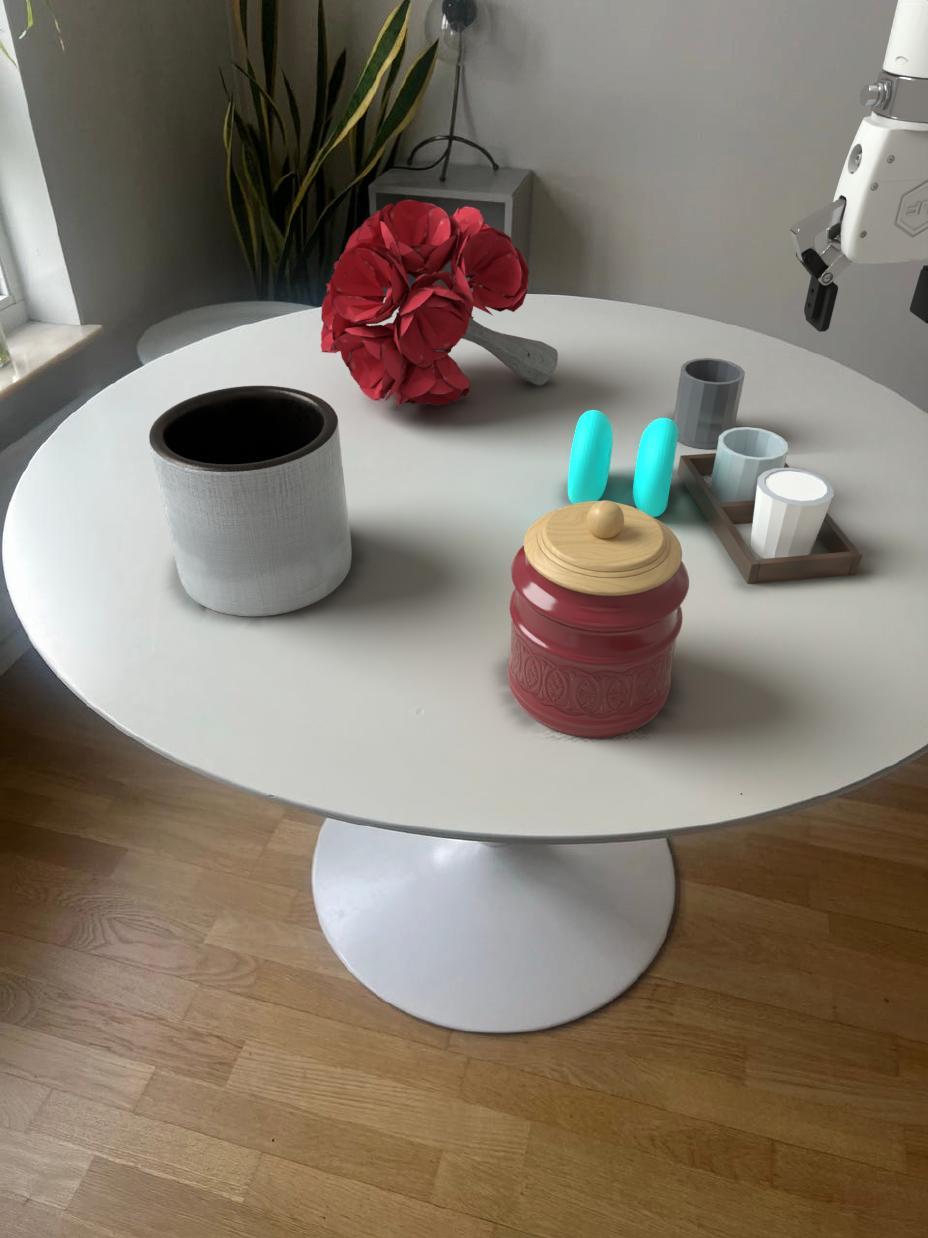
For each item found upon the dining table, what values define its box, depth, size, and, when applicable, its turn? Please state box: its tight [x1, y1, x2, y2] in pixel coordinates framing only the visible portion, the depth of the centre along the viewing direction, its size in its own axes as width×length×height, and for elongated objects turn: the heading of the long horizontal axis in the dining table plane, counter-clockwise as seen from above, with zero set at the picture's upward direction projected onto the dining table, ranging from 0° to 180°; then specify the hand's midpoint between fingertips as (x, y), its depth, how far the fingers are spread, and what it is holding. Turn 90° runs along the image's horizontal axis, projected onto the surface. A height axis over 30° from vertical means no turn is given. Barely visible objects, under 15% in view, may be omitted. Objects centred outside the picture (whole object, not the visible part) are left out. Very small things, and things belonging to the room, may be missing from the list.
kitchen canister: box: [506, 500, 690, 739], centre depth 70 cm, size 13×13×18 cm
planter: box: [148, 385, 353, 617], centre depth 84 cm, size 16×16×16 cm
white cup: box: [749, 467, 835, 559], centre depth 88 cm, size 7×7×7 cm
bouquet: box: [320, 199, 559, 409], centre depth 113 cm, size 22×24×30 cm
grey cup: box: [672, 357, 746, 450], centre depth 107 cm, size 7×7×8 cm
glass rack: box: [677, 452, 863, 585], centre depth 93 cm, size 11×20×3 cm, turn 8°
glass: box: [708, 426, 789, 503], centre depth 96 cm, size 7×7×7 cm
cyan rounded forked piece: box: [567, 409, 678, 518], centre depth 95 cm, size 10×10×10 cm
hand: (869, 321), depth 81 cm, fingers open, 9 cm apart
